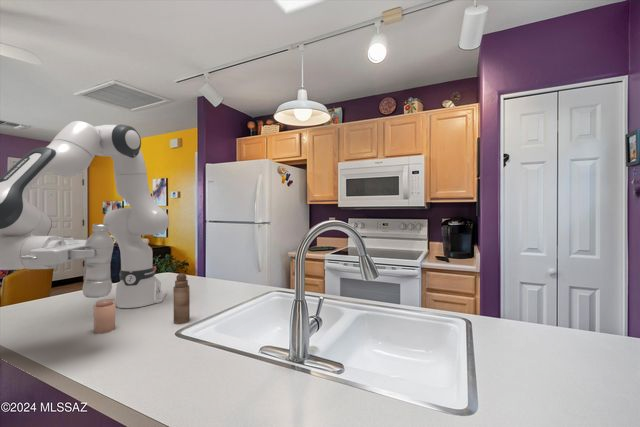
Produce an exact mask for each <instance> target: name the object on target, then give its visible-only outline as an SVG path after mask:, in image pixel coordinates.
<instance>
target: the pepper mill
mask: <svg viewBox="0 0 640 427" xmlns="http://www.w3.org/2000/svg"><path fill="white" fill-rule="evenodd" d="M187 278H188V277H187V274H186V273H183V272H180V273H178V274H177V275H176V278H175V279H176V280H175V281H174V286H173V290H172V291H173V324H174V325H175V324H176V325H184V324H187V323H189V322H190V320H191V319H190V318H191V317H190V315H191V314H190V313H191V312H190V311H191V310H190V308H191V307H190V304H191V303H190V301H191V300H190V296H191V295H190V294H191V293H190V292H191V291H190V285H189V279H187Z"/></svg>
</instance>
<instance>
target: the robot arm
mask: <svg viewBox="0 0 640 427" xmlns="http://www.w3.org/2000/svg"><path fill="white" fill-rule="evenodd" d="M141 147H142V138H141V135H140V133H139V131H138V130H137V129H136V128H134V127H133V126H130V125H127V124H102V125H92V124H90V123H88V122H86V121H82V120H74V121H71V122H69V123H68V124H67V125H65V127H63V128H62V129H61V130H60V131H59V132H58V133H57V134H56V135H55V136H54V138H52V140H51V142H50V143H49V144H48V145H47V146H41V147H40V146H39V147H36V148H33V149H31V150H30V151H29V152H28V153H26V154H25V155H24V156H23V157H22V158H21V159H19V160H18V161H17V162H16V163H15V164H14V165H13V166H12V167H11V168H9V169H8V170H7V172H5V173H4V174H3V175H1V177H0V270H1V271H12V270H19V269H25V270H53V269H56V268H57V267H59V266H60V265H62V264H66V263H69V262H74V261H77V260H81V259H84V258H86V257H94V256H96V255H97V251H96V250H85V248H86V247H85V243H86V240H87V239H74V237H61V236H57V235H49V234H50V232H51V229H52V228H53V227H52V226H53V221H52V218H51V217H50V216H49V215H47V213H45V212H43V210H41V209H40V208H39V207H36V206H35V205H34V204H32V203H31V202H29V201H28V200H27V198H26V193H27V192H28V190H29V189H31V187H32V186H33V185H34V184H35V183H36V182H37V181H38V180H39V179H40V178H41V177H42V176H43V175H44V174H45V173H50V174H52V175H57V176H61V177H76V176H80V175H82V174H83V173H84V172H85V171H86V170H87V169H88V168H89V167H90V165H91V162H93V159H94V158H95V157H110V159H111V160H112V161H113V175H114V181H115V182H114V183H115V189H116V194H117V195H118V196H119V197H120V198H122V199H123V200H125V201H126V202H127V204H128V205H129V207H121V208H116V209H112V210H111V209H110V210H109V211H107V212H106V213H105V215H104V217H103V220H102V221H103V223H102V224H109V231H108V233H110V234H111V235H112V236H113V237H114V239H115V241H116V243H117V245H118V248H119V249H118V250H119V251H120V270H119V280H120V281H119V282H117V284H116V285H115V286H116V288H115V298H114V299H115V300H113V302H114V303H115V307H117V308H119V309H120V308H121V309H133V308H134V309H135V308H141V307H147V306H151V305H154V304H159V303H162V302H163V301H164V300H165V297H166V296H167V293H168V292H167V291H166V290H162V285H161V281H160V280H159V279H158V278H157V277H156V276H155V274H156V273H155V272H156V270H157V266H154V265H153V260H154V259H153V256H154V255H153V248H152V247H151V246H150V245H148V244H147V243H145V241H144V240H143V238H142V236H153V235H159V234H163V233H164V232H166V231H167V229H168V227H169V225H170V217H169V215H168V213H167V212H166V211H165V210H164V209H162V208H161V207H160V206H158V204H157V203H156V201H155V200H154V198H153V196H152V194H151V192H150V187H149V180H148V174H147V167H146V163H145V162H146V161H145V158H144V155H143V152H142V150H141Z"/></svg>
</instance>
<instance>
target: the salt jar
mask: <svg viewBox="0 0 640 427" xmlns="http://www.w3.org/2000/svg"><path fill="white" fill-rule="evenodd" d="M113 301H114V300H113V299H110V298H108V299H101V300H97V301H96V302H95V305H94V306H93V333H94V334H97V333H101V334H107V333H110V332H113V331H115V330H116V305H115V303H114V302H113ZM112 330H113V331H112ZM106 332H107V333H106Z"/></svg>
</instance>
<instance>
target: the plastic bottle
mask: <svg viewBox="0 0 640 427" xmlns="http://www.w3.org/2000/svg"><path fill="white" fill-rule="evenodd" d="M91 231H92V234H91V235H89V237H88V238H87V239H85V240H86V243H85V247H86V248H85V250H96V251H97V255H96V256H94V257H85V258H86V269H85V275H84V276H85V277H84V281H83V285H82V289H81V290H82V294H83V296H84V297H85V298H88V299H89V298H90V299H99V298H104V297H107V296H109V295H110V294H111V292H112V288H113V282H112V277H111V276H112V275H111V274H112V273H111V262H112V256H113V251H114V247H115V243H114V240H113V238H112V237H111V235H110V234H109V232H108V231H109V224H103V223H93V224H92V229H91Z"/></svg>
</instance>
